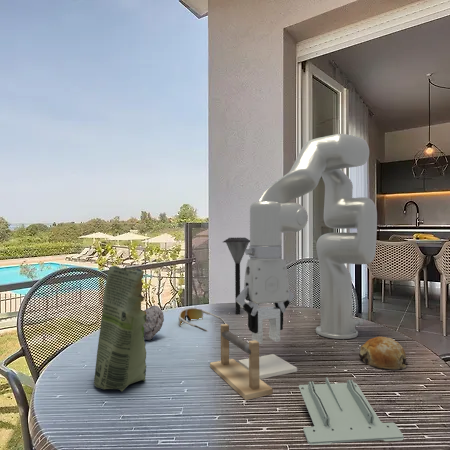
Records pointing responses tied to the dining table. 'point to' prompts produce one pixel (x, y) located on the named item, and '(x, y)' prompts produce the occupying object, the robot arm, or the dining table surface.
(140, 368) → the pouch
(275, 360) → the square tile
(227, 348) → the rail stand
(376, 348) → the bread roll
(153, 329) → the pumice stone
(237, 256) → the solar garden light
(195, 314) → the sunglasses
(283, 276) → the robot arm
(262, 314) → the notched grey block
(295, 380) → the dining table surface
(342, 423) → the metal bracket
